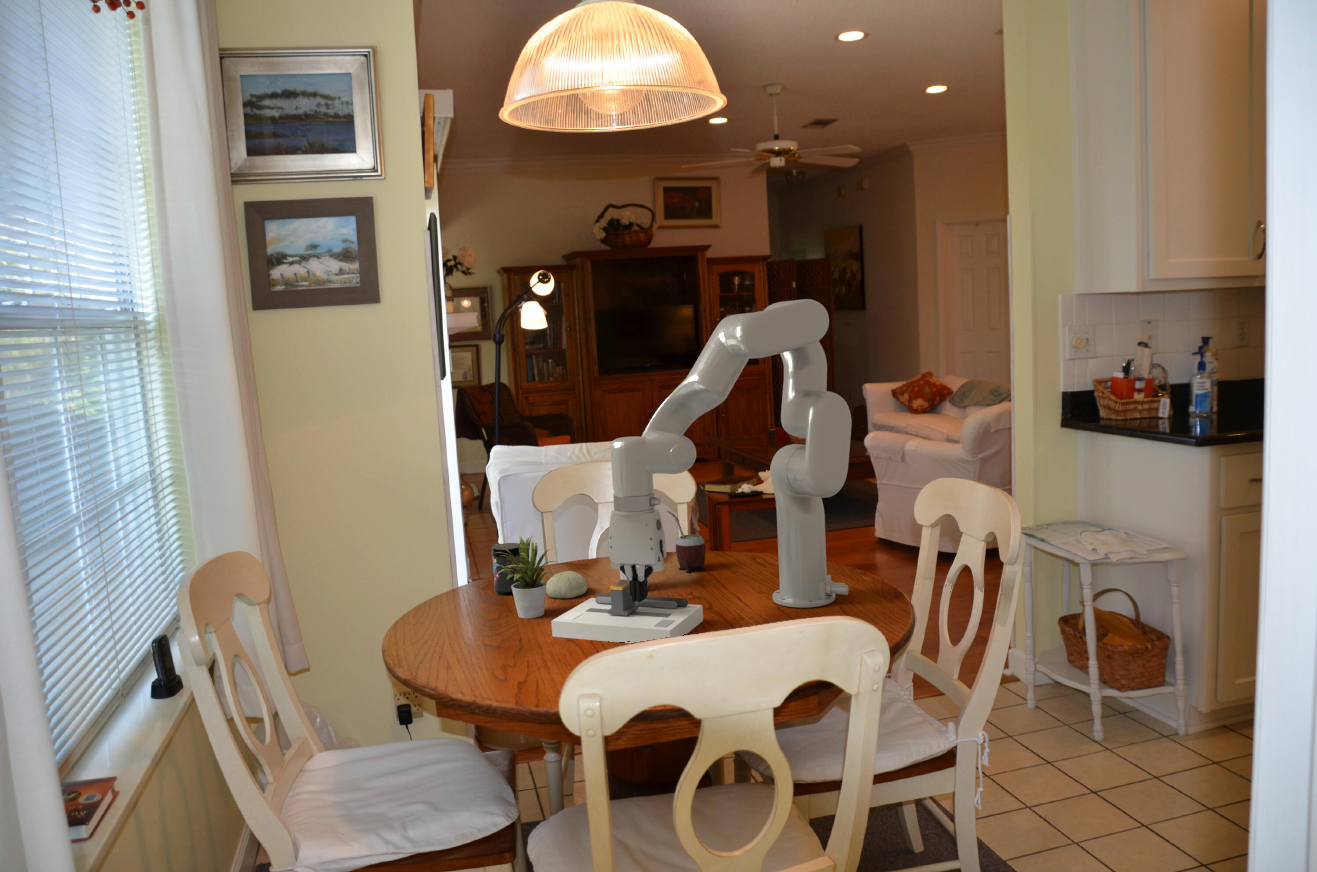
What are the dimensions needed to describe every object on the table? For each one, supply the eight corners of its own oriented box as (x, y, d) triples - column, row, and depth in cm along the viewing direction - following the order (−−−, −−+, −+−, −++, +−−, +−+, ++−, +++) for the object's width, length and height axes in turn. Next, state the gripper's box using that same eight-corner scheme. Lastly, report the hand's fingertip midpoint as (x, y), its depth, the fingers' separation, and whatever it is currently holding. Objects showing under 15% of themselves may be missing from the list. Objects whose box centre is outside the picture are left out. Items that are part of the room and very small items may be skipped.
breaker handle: (638, 607, 177) (637, 580, 177) (627, 615, 173) (625, 587, 172) (619, 606, 179) (618, 579, 179) (608, 614, 174) (606, 586, 174)
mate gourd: (710, 567, 220) (707, 504, 219) (700, 575, 213) (696, 510, 211) (681, 566, 223) (677, 504, 222) (669, 574, 216) (666, 510, 214)
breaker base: (703, 620, 178) (701, 596, 178) (670, 646, 164) (669, 621, 163) (592, 612, 188) (590, 589, 188) (552, 636, 174) (550, 612, 173)
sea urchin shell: (535, 591, 199) (546, 559, 204) (549, 609, 205) (560, 578, 210) (573, 593, 196) (583, 561, 201) (586, 612, 202) (596, 580, 206)
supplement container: (510, 586, 212) (507, 541, 211) (531, 589, 208) (528, 544, 207) (488, 593, 207) (484, 547, 206) (509, 597, 203) (506, 550, 202)
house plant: (485, 610, 194) (479, 533, 192) (549, 600, 199) (544, 524, 197) (501, 628, 180) (495, 545, 179) (569, 616, 186) (564, 536, 184)
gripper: (678, 500, 173) (683, 597, 175) (606, 499, 179) (612, 592, 181) (663, 508, 166) (668, 608, 168) (588, 506, 172) (594, 603, 174)
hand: (639, 599), depth 174 cm, fingers closed
